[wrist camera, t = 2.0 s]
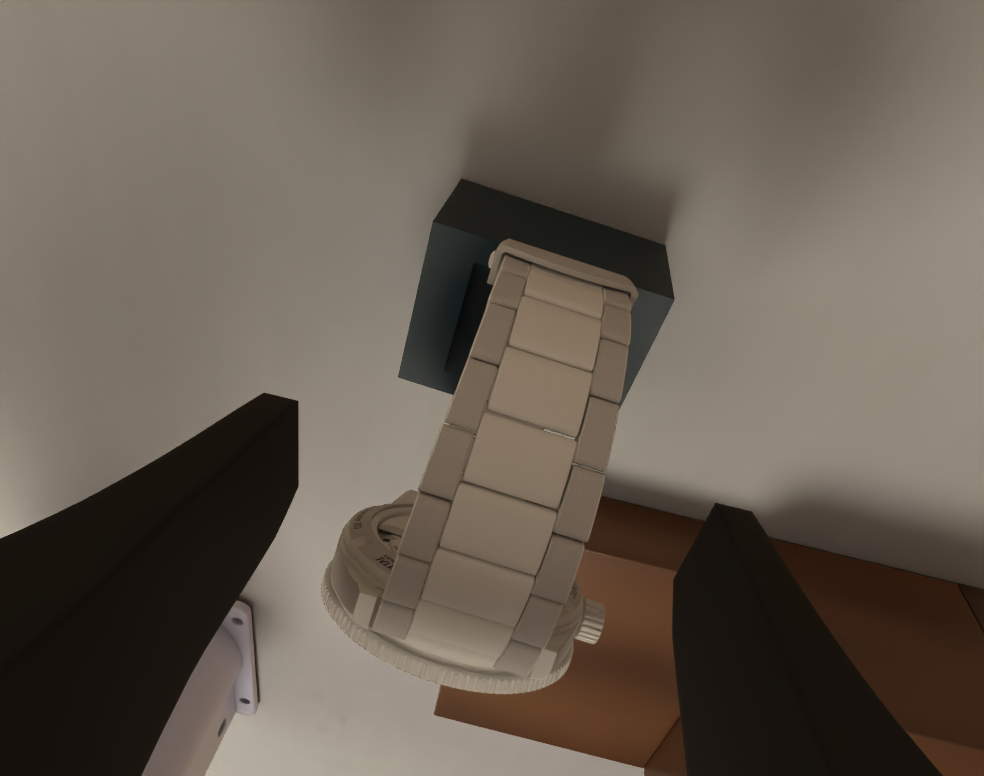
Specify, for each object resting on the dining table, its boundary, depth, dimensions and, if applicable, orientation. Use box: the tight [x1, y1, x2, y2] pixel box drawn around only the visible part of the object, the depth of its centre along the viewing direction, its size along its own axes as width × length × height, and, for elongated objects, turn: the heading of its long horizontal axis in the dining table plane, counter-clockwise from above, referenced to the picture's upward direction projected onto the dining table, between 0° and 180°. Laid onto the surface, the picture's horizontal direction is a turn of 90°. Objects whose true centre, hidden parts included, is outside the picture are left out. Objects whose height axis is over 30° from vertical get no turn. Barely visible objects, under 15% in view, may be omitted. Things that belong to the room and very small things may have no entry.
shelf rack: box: [434, 497, 984, 776], centre depth 21 cm, size 12×17×10 cm
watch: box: [321, 179, 675, 694], centre depth 13 cm, size 6×8×11 cm
